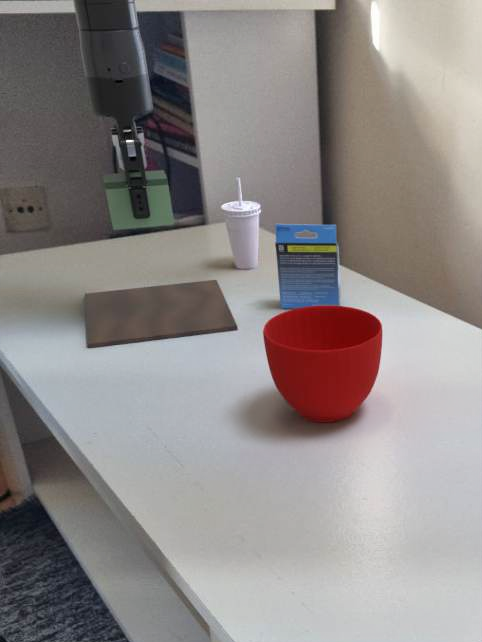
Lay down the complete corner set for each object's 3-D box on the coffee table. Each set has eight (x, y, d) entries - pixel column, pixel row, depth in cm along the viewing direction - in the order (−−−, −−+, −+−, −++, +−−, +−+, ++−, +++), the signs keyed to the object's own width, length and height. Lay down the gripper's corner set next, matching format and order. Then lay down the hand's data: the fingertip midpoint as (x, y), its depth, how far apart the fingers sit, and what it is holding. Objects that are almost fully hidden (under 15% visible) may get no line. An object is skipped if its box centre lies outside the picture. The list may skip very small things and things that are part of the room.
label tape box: (341, 300, 121) (338, 216, 114) (339, 310, 118) (336, 224, 111) (283, 299, 121) (277, 216, 114) (280, 309, 118) (273, 224, 111)
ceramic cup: (403, 377, 100) (404, 299, 94) (364, 443, 86) (362, 357, 81) (305, 365, 102) (300, 289, 97) (252, 428, 89) (243, 343, 83)
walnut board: (88, 348, 107) (87, 343, 107) (85, 297, 123) (84, 293, 122) (237, 329, 112) (237, 325, 112) (216, 283, 128) (216, 279, 127)
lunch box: (174, 224, 109) (167, 178, 106) (113, 230, 107) (104, 182, 104) (170, 215, 113) (163, 169, 109) (111, 220, 111) (102, 174, 107)
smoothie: (229, 273, 131) (219, 183, 123) (225, 261, 136) (215, 174, 128) (268, 269, 133) (260, 180, 125) (262, 258, 138) (255, 171, 130)
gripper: (83, 65, 104) (109, 201, 114) (85, 79, 93) (114, 229, 103) (143, 63, 106) (163, 197, 116) (152, 76, 95) (174, 224, 105)
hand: (140, 211), depth 109 cm, fingers closed on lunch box, 5 cm apart
